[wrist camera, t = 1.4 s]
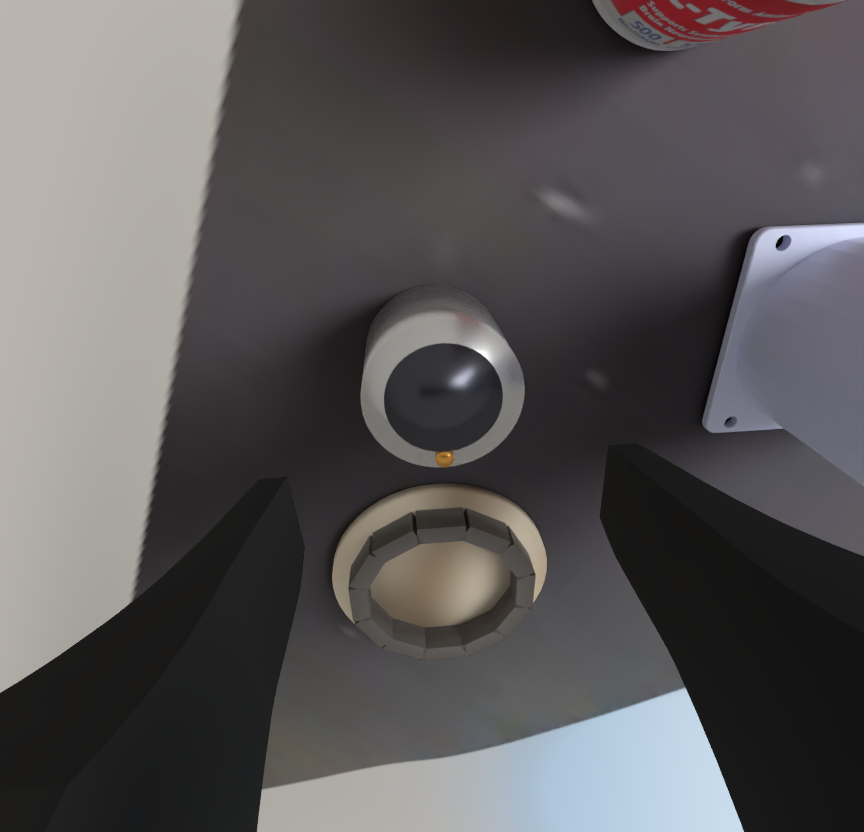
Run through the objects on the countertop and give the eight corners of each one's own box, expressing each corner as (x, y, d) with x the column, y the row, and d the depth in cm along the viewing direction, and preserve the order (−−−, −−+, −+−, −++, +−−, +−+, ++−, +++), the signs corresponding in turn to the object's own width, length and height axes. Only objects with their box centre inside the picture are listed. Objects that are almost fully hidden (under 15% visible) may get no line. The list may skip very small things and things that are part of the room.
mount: (552, 475, 22) (564, 501, 20) (535, 630, 27) (545, 661, 25) (319, 491, 21) (314, 519, 20) (345, 646, 26) (343, 678, 25)
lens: (502, 280, 18) (531, 316, 14) (497, 406, 20) (521, 464, 16) (359, 287, 17) (351, 325, 14) (371, 413, 20) (368, 474, 16)
